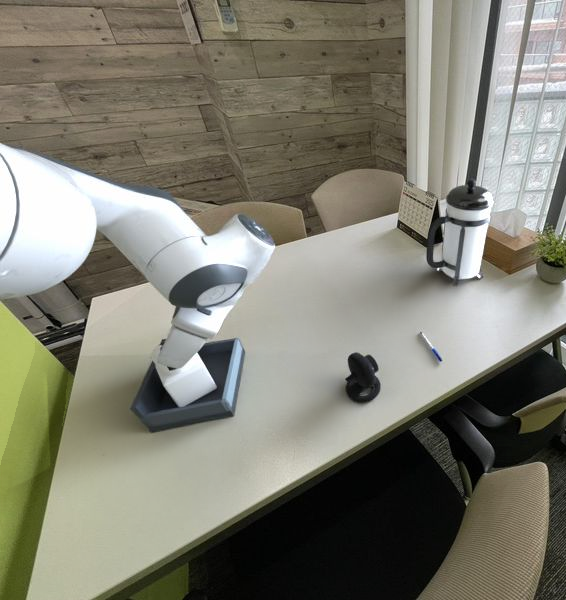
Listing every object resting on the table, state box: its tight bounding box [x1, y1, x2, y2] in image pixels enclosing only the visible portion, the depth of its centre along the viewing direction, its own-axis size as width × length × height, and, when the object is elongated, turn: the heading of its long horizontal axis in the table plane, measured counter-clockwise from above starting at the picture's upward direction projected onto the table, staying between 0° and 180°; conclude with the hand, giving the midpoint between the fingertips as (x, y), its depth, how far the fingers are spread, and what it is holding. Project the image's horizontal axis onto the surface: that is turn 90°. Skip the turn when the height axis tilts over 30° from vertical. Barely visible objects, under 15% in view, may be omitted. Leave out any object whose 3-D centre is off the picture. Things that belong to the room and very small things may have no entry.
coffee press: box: [425, 178, 494, 287], centre depth 94 cm, size 17×16×30 cm
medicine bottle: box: [150, 342, 217, 407], centre depth 64 cm, size 7×7×12 cm
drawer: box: [129, 337, 246, 434], centre depth 67 cm, size 15×18×8 cm
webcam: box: [345, 351, 382, 404], centre depth 66 cm, size 8×8×10 cm
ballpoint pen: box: [419, 331, 443, 362], centre depth 79 cm, size 10×1×1 cm, turn 26°
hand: (171, 343), depth 61 cm, fingers open, 8 cm apart
